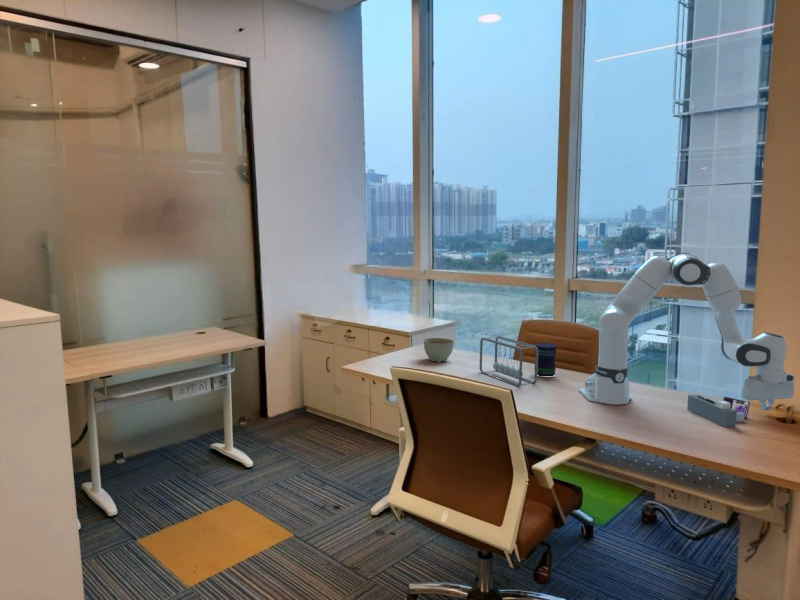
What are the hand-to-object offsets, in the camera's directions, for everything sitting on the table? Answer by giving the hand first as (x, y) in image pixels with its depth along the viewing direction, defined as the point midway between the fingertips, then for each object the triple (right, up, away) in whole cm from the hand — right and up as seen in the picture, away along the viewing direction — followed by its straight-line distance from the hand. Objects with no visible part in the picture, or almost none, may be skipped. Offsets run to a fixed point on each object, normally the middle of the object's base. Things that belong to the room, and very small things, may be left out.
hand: (765, 410), depth 211 cm
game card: (-12, -2, -1) cm, 12 cm away
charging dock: (-20, -2, -4) cm, 20 cm away
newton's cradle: (-90, +5, +48) cm, 102 cm away
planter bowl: (-120, +10, +82) cm, 146 cm away
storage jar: (-71, +6, +55) cm, 90 cm away
